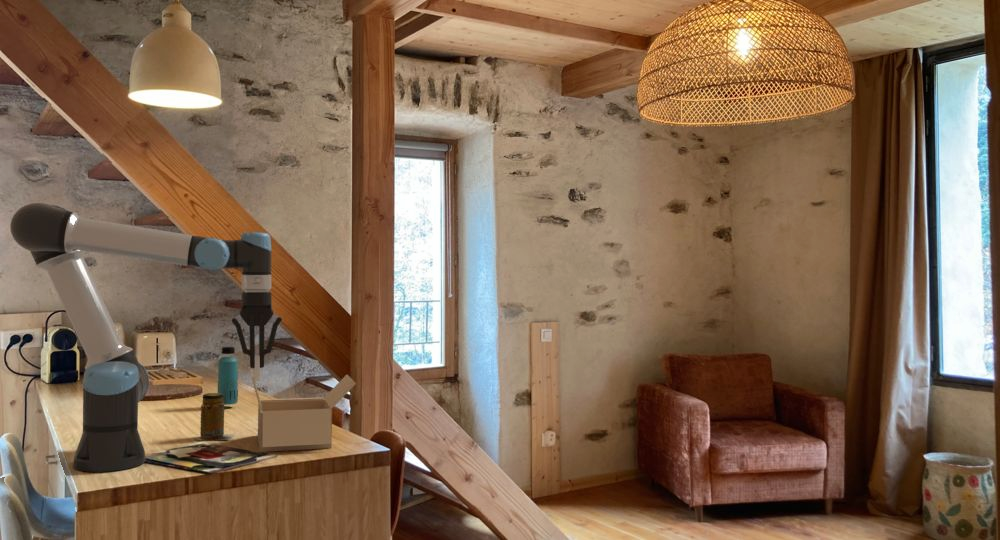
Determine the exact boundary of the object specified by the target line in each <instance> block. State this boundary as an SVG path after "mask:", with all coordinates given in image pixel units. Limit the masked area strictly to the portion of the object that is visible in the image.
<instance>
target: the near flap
mask: <svg viewBox="0 0 1000 540" xmlns="http://www.w3.org/2000/svg"><path fill="white" fill-rule="evenodd" d="M317 444H331V409H307V410H281V411H263V445H262V447H279V446H298V445H317Z"/></svg>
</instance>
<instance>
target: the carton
mask: <svg viewBox="0 0 1000 540" xmlns="http://www.w3.org/2000/svg"><path fill="white" fill-rule="evenodd" d="M257 403H258V402H257ZM257 406H258V409H257V442H258V448H259V452H260V453H264V452H280V451H281V452H283V451H300V450H301V451H302V450H319V449H320V450H321V449H332V442H333V440H332V438H333V437H332V435H333V408H332V409H331V408H330V406H329V405H328V403H327V402H326V400H325V399H324V398H323V400H296V401H267V402H261V406H262V410H263V411H281V410H307V409H331V444H317V445H298V446H279V447H262V445H263V411H260V407H259V403H258V404H257Z"/></svg>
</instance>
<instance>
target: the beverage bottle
mask: <svg viewBox="0 0 1000 540" xmlns="http://www.w3.org/2000/svg"><path fill="white" fill-rule="evenodd" d="M235 350H236V349H235V347H233V346H223V347H221V354H222V355H234V354H236V351H235ZM217 364H218V365H217V393H221V394H223V403H224V406H228V405H236V404H237V403H238V397H239V388H238V386H239V383H238V380H239V360H238V359H237V358H236V357H235V356H221V357H220V359H218V361H217Z"/></svg>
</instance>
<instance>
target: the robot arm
mask: <svg viewBox="0 0 1000 540" xmlns="http://www.w3.org/2000/svg"><path fill="white" fill-rule="evenodd" d="M9 227H10V234H11V236H12V238H13V240H14V241H15V242H16V243H17V245H19V246H20V247H21V248H23V249H25V250H27V251H30V254H31V257H32V258H33V261H34V262H35V265H36V267H38V268H41V269H43V270H45V271H46V272H47V274H48V275H49V278H50V280H51V282H52V284H53V287H54V289H55V290H56V293H57V294H58V298H59V300H60V301H61V304H62V306H63V308H64V310H65V312H66V314H67V316H68V319H69V320H70V323H71V325H72V328H73V329H74V332H75V333H76V336H77V338H78V341H79V342H80V344H81V347H82V349H83V351H84V354H85V356H86V357H87V362H86V364H85V366H84V370H85V371H84V373H83V378H82V387H83V392H82V394H83V396H82V397H83V398H82V433H81V437H80V440H79V442H78V444H77V447H76V450H75V454H74V455H73V463H72V464H73V469H75V470H77V471H80V472H81V471H82V472H91V473H101V472H102V473H104V472H115V471H121V470H129V469H132V468H136V467H138V466H141V465H143V464H144V463H145V462H146V451H145V448H144V444H143V441H142V439H141V436H140V433H139V428H138V426H139V425H138V423H139V422H138V421H139V420H138V419H139V418H138V417H139V403H140V402H141V401H142V400H143V399H144V398H145V396H146V394H147V392H148V391H149V390H148V389H149V387H150V377H149V374H148V371H147V369H146V368H145V366H144V365H142V363H140V362H139V360H138V357H137V355H136V353H135V351H134V349H133V348H132V347H130V346H127V345H125V344H124V343H123V340H122V338H121V337H120V334H119V333H118V329H117V328H116V325H115V323H114V321H113V319H112V316H111V315H110V313H109V310H108V307H107V305H106V304H105V302H104V299H103V297H102V295H101V292H100V291H99V288H98V286H97V284H96V282H95V279H94V278H93V276H92V274H91V271H90V269H89V266H88V264H87V262H86V260H85V255H86V253H87V252H88V253H89V252H90V253H97V254H104V255H110V256H118V257H124V258H132V259H138V260H139V259H140V260H146V261H151V262H152V261H153V262H160V263H167V264H174V265H181V266H187V267H193V268H195V269H199V270H208V271H218V270H223V269H224V270H225V269H229V270H230V269H237V270H238V269H241V290H242V291H243V292H242V293H241V309H240V311H239V314H238V315H237V316H235V317H232V318H231V322H232V324H233V325H234V327H235V329H236V332H237V337H238V339H239V343H240V346H241V350H242V353H243V354H244V355H248V356H249V367H250V369H254V378H255V382H260V380H261V379H260V378H261V377H260V376H261V374H260V371H261V368H264V367H265V355H268V354H270V353H271V352H272V349H273V346H274V342H275V337H276V334H277V330H278V327H279V325H280V323H281V322H282V320H283V319H282V317H281V316H278V315H277V314H275V313H274V310H273V308H272V305H273V304H272V300H273V299H272V292H271V291H270V290H271V289H272V239H271V238H272V237H271V236H270V234H269V233H268V232H242V233H241V237H240V239H233V240H232V239H231V240H230V239H219V238H213V237H205V236H199V235H193V234H192V235H191V234H186V233H181V232H180V233H179V232H176V231H175V232H173V231H168V230H167V231H166V230H160V229H154V228H148V227H147V228H146V227H142V226H135V225H131V224H123V223H116V222H110V221H105V220H97V219H91V218H85V217H81V216H79V214H78V213H77V212H75V211H70V210H69V209H66V208H65V207H62V206H58V205H54V204H48V203H45V202H44V203H43V202H42V203H41V202H33V203H29V204H26V205H24V206H22V207H20V208H18V210H16V212H15V213H14V214H13V215H12V218H11V220H10V224H9ZM242 320H243V321H244V322H245V324H246V325H247V326H249V328H248V329H249V348H248V347H247V343H246V340H245V337H244V332H243V329H242V326H241V323H242ZM270 320H271V322H272V325H271V329H270V333H269V337H268V341H267V345H266V348H265V326H266V325H267V324H268V323H269V321H270ZM255 327H258V329H259V330H258V332H259V335H258V354H256V347H255V344H256V342H255V340H256V338H255V337H256V335H255Z"/></svg>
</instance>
